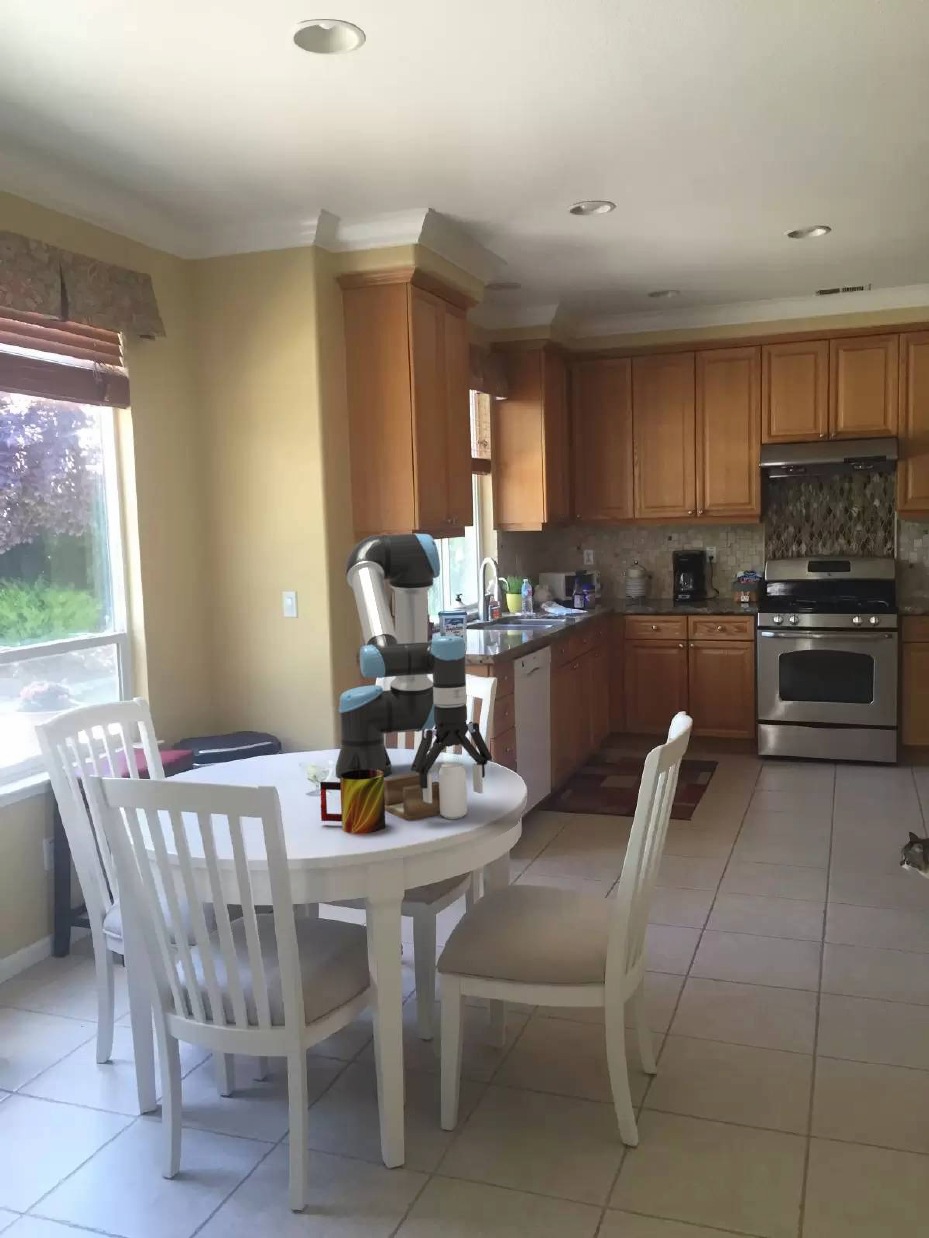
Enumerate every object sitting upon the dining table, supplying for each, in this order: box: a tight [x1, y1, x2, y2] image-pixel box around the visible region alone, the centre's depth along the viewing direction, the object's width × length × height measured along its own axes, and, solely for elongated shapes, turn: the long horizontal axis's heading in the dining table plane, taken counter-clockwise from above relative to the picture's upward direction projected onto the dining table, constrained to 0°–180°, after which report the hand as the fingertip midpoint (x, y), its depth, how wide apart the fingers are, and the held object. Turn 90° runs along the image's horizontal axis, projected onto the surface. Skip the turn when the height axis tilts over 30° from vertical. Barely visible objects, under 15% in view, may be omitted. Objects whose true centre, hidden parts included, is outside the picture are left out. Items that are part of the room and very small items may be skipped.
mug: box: [319, 769, 387, 835], centre depth 226 cm, size 10×14×12 cm
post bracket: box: [384, 772, 441, 821], centre depth 239 cm, size 13×10×7 cm
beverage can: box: [438, 761, 468, 820], centre depth 233 cm, size 6×6×12 cm
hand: (453, 797), depth 233 cm, fingers open, 13 cm apart
